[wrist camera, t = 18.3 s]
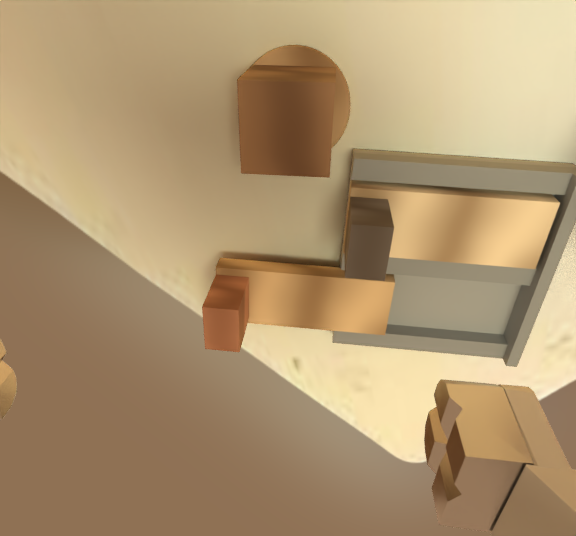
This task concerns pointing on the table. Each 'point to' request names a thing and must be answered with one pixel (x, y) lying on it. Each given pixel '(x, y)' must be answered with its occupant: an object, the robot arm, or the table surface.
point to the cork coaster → (313, 57)
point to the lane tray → (460, 276)
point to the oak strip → (291, 300)
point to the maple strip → (443, 226)
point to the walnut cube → (286, 120)
